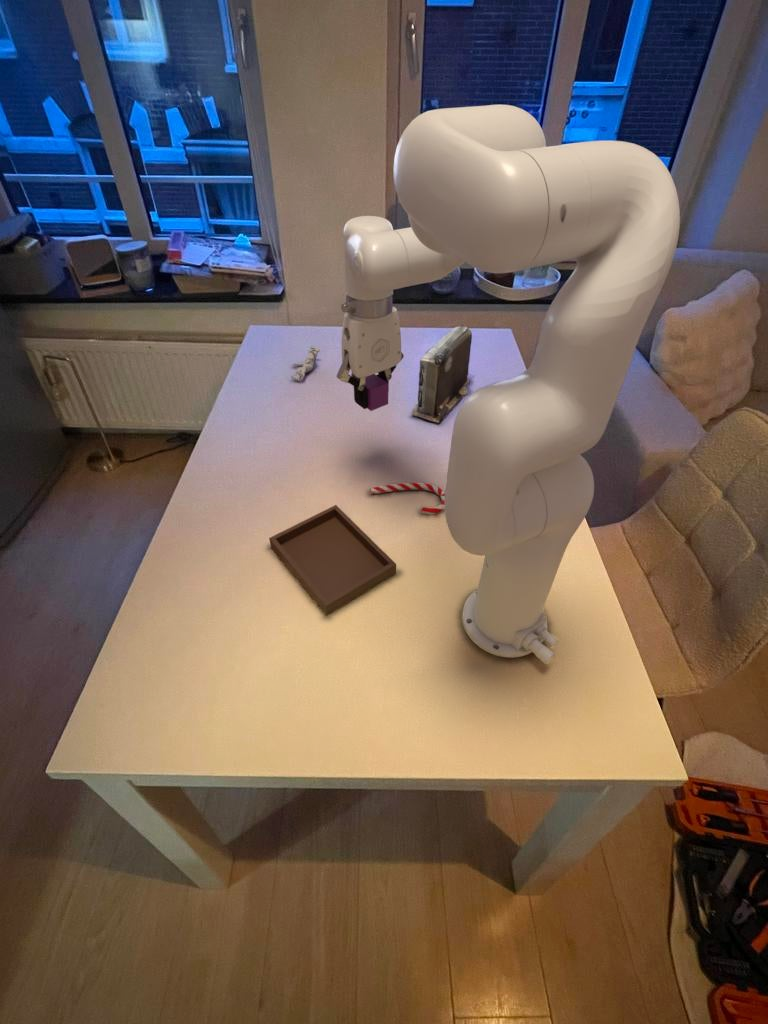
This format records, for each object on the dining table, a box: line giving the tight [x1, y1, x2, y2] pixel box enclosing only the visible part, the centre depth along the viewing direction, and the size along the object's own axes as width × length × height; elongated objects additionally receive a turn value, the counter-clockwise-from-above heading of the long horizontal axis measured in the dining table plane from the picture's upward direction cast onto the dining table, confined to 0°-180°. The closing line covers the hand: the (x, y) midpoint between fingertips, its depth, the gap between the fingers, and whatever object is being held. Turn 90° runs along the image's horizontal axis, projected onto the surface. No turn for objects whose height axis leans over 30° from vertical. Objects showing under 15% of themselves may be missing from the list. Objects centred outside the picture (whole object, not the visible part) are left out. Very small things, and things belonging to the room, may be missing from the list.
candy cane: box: [369, 482, 445, 515], centre depth 99 cm, size 8×1×15 cm
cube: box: [358, 373, 389, 412], centre depth 97 cm, size 5×4×4 cm
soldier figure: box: [290, 345, 322, 382], centre depth 133 cm, size 8×5×12 cm
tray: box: [268, 504, 397, 616], centre depth 88 cm, size 18×14×2 cm
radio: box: [411, 324, 473, 423], centre depth 120 cm, size 23×9×15 cm, turn 146°
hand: (371, 400), depth 98 cm, fingers closed on cube, 4 cm apart
